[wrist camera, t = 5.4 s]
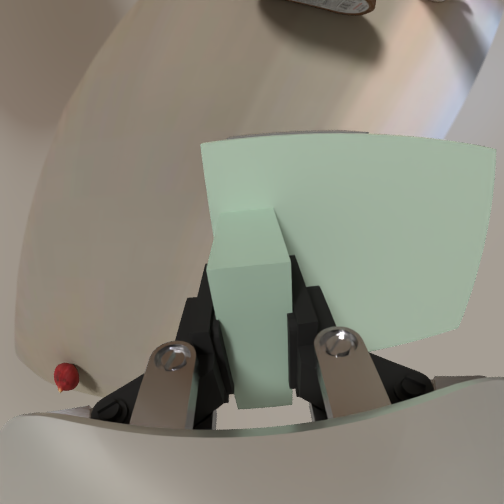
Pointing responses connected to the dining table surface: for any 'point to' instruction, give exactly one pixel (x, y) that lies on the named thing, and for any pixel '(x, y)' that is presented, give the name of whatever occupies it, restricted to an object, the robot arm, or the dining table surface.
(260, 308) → the lid
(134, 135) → the dining table surface
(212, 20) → the dining table surface
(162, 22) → the dining table surface
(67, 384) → the onion
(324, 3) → the tin
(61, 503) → the robot arm
